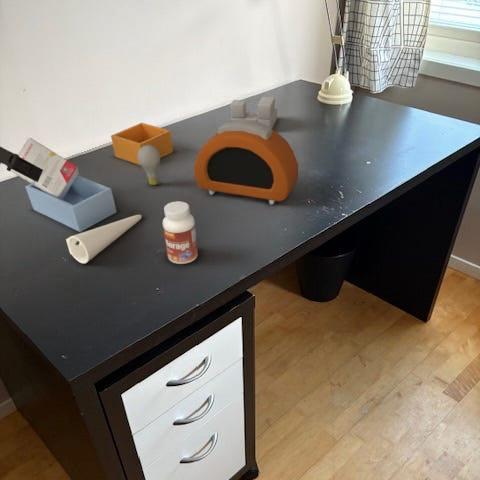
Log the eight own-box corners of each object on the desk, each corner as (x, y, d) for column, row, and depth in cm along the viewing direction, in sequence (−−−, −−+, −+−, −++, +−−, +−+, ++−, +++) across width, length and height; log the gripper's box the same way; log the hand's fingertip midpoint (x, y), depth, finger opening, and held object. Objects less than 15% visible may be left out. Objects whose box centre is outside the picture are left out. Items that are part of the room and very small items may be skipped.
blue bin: (33, 209, 113) (25, 186, 109) (70, 192, 119) (63, 169, 115) (80, 232, 105) (72, 207, 101) (116, 212, 111) (111, 188, 107)
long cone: (160, 232, 107) (91, 267, 94) (140, 227, 110) (71, 259, 97) (156, 208, 103) (84, 240, 91) (136, 203, 107) (64, 233, 94)
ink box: (81, 172, 111) (35, 143, 110) (77, 166, 106) (29, 135, 105) (61, 203, 111) (14, 174, 109) (56, 198, 106) (8, 168, 104)
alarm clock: (195, 193, 116) (187, 124, 105) (210, 178, 122) (204, 110, 111) (287, 208, 109) (289, 135, 98) (298, 190, 115) (301, 120, 104)
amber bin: (115, 156, 134) (110, 135, 130) (145, 143, 141) (141, 122, 137) (143, 166, 129) (139, 144, 125) (173, 151, 135) (170, 130, 131)
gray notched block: (277, 118, 152) (277, 92, 146) (270, 133, 143) (270, 105, 138) (240, 117, 154) (239, 91, 149) (231, 131, 145) (230, 104, 140)
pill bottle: (163, 264, 94) (155, 214, 87) (172, 246, 99) (165, 198, 92) (194, 266, 94) (188, 216, 86) (201, 248, 98) (196, 200, 91)
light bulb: (143, 181, 122) (136, 142, 116) (164, 179, 123) (158, 140, 116) (142, 190, 118) (134, 151, 112) (164, 189, 119) (158, 149, 112)
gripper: (-130, 116, 85) (-21, 169, 104) (-60, 148, 73) (49, 200, 92) (-114, 77, 85) (-7, 137, 103) (-41, 103, 73) (64, 165, 92)
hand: (19, 167), depth 98 cm, fingers open, 13 cm apart
